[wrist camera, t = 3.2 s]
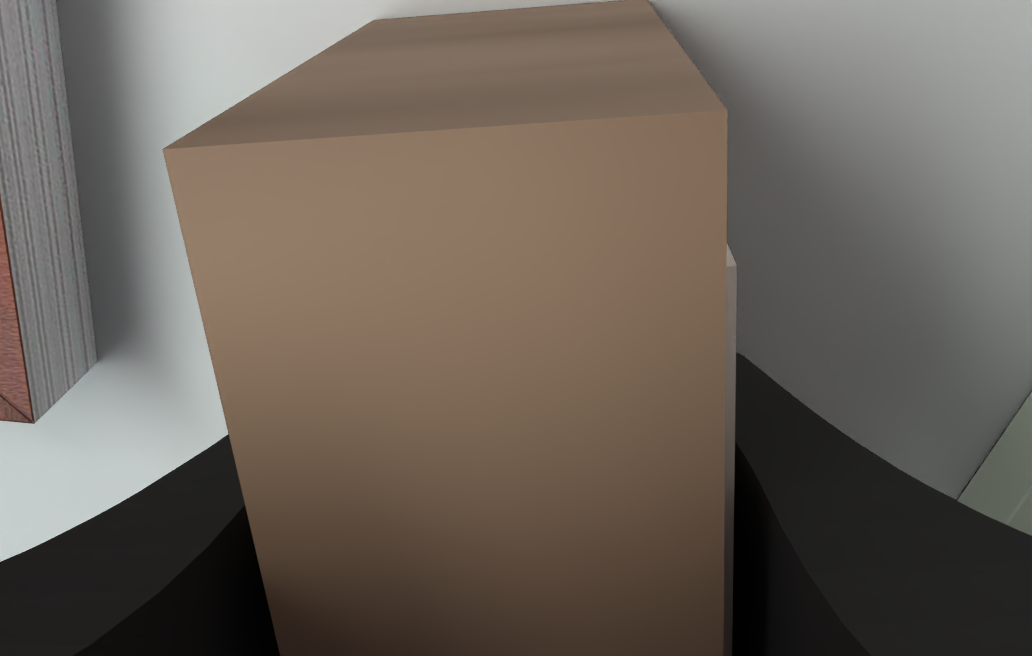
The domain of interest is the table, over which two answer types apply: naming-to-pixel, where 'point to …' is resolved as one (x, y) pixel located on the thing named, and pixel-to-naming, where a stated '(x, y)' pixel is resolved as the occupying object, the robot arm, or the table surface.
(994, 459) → the green slotted rack
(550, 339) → the frame
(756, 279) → the table surface
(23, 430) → the table surface
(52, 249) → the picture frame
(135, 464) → the table surface
